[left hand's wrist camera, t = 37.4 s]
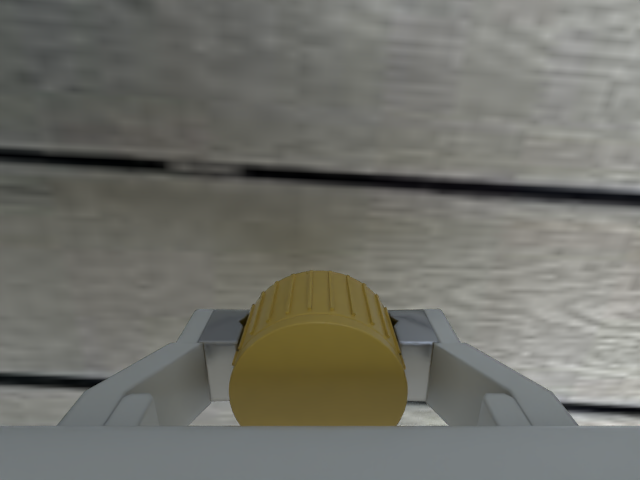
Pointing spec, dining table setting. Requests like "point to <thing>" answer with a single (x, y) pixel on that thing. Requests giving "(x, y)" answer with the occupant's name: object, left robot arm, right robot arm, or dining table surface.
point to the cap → (318, 357)
